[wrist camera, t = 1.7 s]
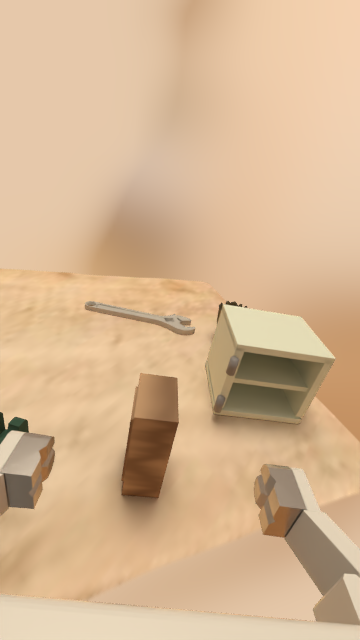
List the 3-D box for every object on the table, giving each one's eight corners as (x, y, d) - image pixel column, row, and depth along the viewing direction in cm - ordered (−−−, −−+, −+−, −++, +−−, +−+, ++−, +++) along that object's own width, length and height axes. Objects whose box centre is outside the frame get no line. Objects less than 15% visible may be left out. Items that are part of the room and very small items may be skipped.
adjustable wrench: (82, 311, 64) (82, 304, 63) (95, 300, 69) (95, 293, 69) (191, 338, 62) (192, 331, 61) (195, 325, 68) (196, 318, 67)
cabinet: (210, 420, 42) (235, 349, 36) (202, 364, 54) (219, 303, 48) (302, 431, 44) (341, 365, 38) (275, 374, 56) (301, 316, 49)
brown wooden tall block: (119, 494, 31) (131, 417, 25) (126, 446, 36) (138, 372, 30) (158, 497, 31) (178, 422, 26) (160, 449, 37) (177, 378, 31)
